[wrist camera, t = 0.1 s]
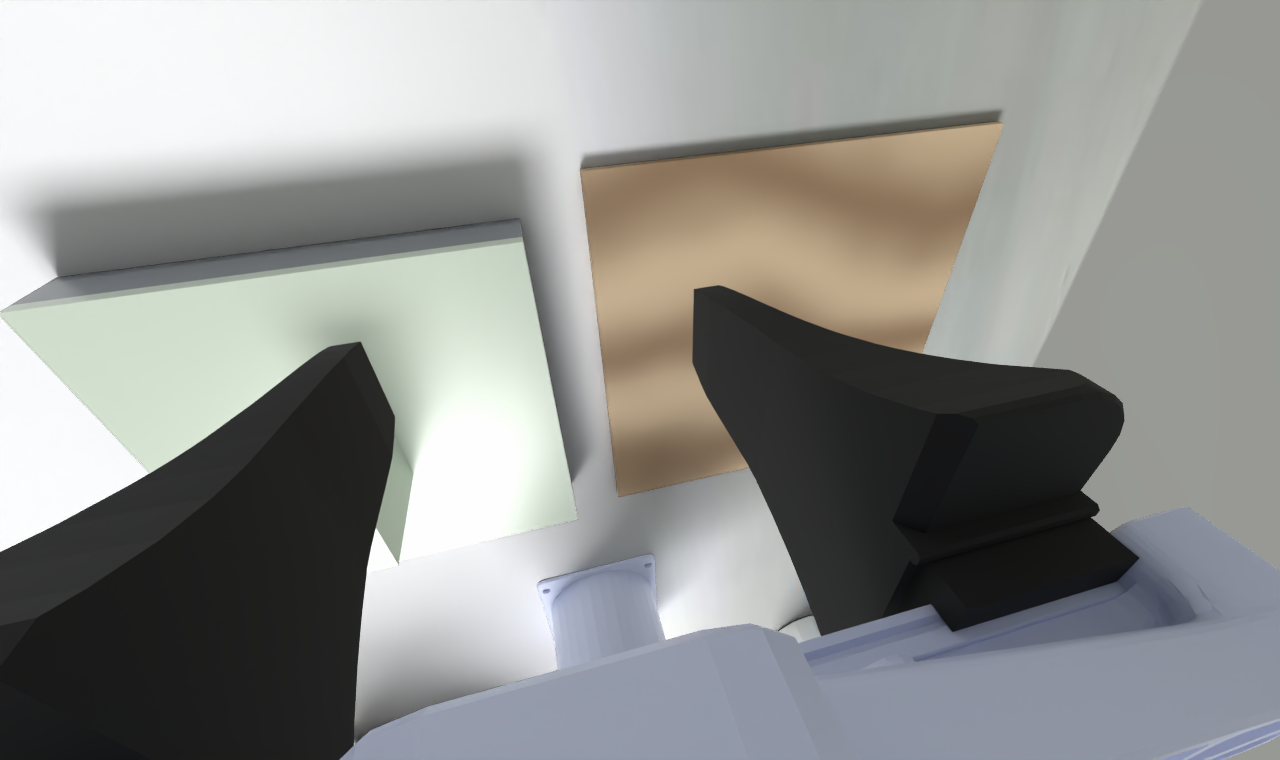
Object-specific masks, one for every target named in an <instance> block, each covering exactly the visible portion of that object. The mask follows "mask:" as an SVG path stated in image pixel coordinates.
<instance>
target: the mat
mask: <svg viewBox="0 0 1280 760" xmlns="http://www.w3.org/2000/svg"><path fill="white" fill-rule="evenodd" d="M1003 126H1004V123H1002V122H988V123H979V124H970V125H961V126H953V127H944V128H935V129H926V130H918V131H909V132H900V133H891V134H882V135H874V136H865V137H856V138H847V139H838V140H830V141H821V142H812V143H803V144H795V145H786V146H777V147H768V148H759V149H751V150H742V151H733V152H724V153H715V154H707V155H698V156H689V157H680V158H672V159H663V160H654V161H645V162H636V163H628V164H619V165H610V166H601V167H593V168H584V169H580V174H581V182H582V191H583V199H584V208H585V217H586V225H587V234H588V243H589V251H590V260H591V268H592V277H593V286H594V294H595V303H596V312H597V320H598V329H599V337H600V346H601V355H602V363H603V372H604V381H605V389H606V398H607V406H608V415H609V424H610V432H611V441H612V450H613V458H614V467H615V475H616V484H617V492H618V496H619V497H622V496H627V495H631V494H635V493H640V492H644V491H649V490H653V489H657V488H662V487H666V486H671V485H675V484H679V483H684V482H688V481H693V480H697V479H701V478H706V477H710V476H715V475H719V474H723V473H728V472H732V471H737V470H741V469H745V468H749V466H748V464H747V462H746V461H745V459H744V458H743V456H742V454H741V453H740V451H739V449H738V448H737V446H736V444H735V443H734V441H733V440H732V438H731V436H730V435H729V433H728V431H727V430H726V428H725V426H724V425H723V423H722V422H721V420H720V418H719V417H718V415H717V413H716V412H715V410H714V408H713V407H712V405H711V403H710V402H709V400H708V398H707V396H706V394H705V392H704V390H703V388H702V385H701V383H700V381H699V378H698V376H697V373H696V371H695V368H694V366H693V363H692V350H693V304H694V289H697V288H704V287H710V286H716V285H720V286H724V287H727V288H730V289H732V290H735V291H737V292H739V293H742V294H744V295H746V296H749V297H751V298H753V299H755V300H758V301H760V302H762V303H764V304H767V305H769V306H771V307H773V308H776V309H778V310H780V311H783V312H785V313H787V314H790V315H792V316H795V317H797V318H799V319H802V320H804V321H807V322H810V323H812V324H815V325H818V326H821V327H823V328H826V329H829V330H832V331H835V332H838V333H841V334H844V335H847V336H851V337H854V338H858V339H861V340H865V341H868V342H872V343H875V344H879V345H884V346H888V347H892V348H897V349H902V350H906V351H911V352H916V353H921V354H922V352H923V349H924V346H925V344H926V341H927V338H928V335H929V332H930V330H931V327H932V324H933V321H934V319H935V316H936V313H937V310H938V307H939V305H940V302H941V299H942V296H943V293H944V291H945V288H946V285H947V282H948V279H949V277H950V274H951V271H952V268H953V265H954V263H955V260H956V257H957V254H958V252H959V249H960V246H961V243H962V240H963V238H964V235H965V232H966V229H967V226H968V224H969V221H970V218H971V215H972V212H973V210H974V207H975V204H976V201H977V199H978V196H979V193H980V190H981V187H982V185H983V182H984V179H985V176H986V173H987V171H988V168H989V165H990V162H991V159H992V157H993V154H994V151H995V148H996V145H997V143H998V140H999V137H1000V134H1001V132H1002V129H1003Z"/></svg>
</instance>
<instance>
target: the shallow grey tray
mask: <svg viewBox="0 0 1280 760" xmlns="http://www.w3.org/2000/svg"><path fill="white" fill-rule="evenodd" d="M517 237H522V239H523V235H522V230H521V225H520V219H519V218H518V219H510V220H502V221H495V222H487V223H479V224H471V225H463V226H456V227H448V228H440V229H432V230H424V231H416V232H409V233H401V234H393V235H385V236H377V237H370V238H362V239H354V240H346V241H338V242H330V243H323V244H315V245H307V246H299V247H291V248H284V249H276V250H268V251H260V252H252V253H244V254H237V255H229V256H221V257H213V258H205V259H197V260H190V261H182V262H174V263H166V264H158V265H151V266H143V267H135V268H127V269H119V270H111V271H104V272H96V273H88V274H80V275H72V276H65V277H57V278H55V279H53V280H52V281H50V282H48V283H47V284H45V285H43V286H42V287H40V288H38V289H37V290H35V291H33V292H32V293H30V294H28V295H27V296H25V297H23V298H22V299H20V300H18V301H17V302H15V303H13V304H12V305H17V304H25V303H32V302H40V301H47V300H54V299H62V298H69V297H77V296H84V295H92V294H99V293H107V292H114V291H122V290H129V289H137V288H144V287H151V286H159V285H166V284H174V283H181V282H189V281H196V280H204V279H211V278H219V277H226V276H233V275H241V274H248V273H256V272H263V271H271V270H278V269H286V268H293V267H301V266H308V265H316V264H323V263H330V262H338V261H345V260H353V259H360V258H368V257H375V256H383V255H390V254H398V253H405V252H412V251H420V250H427V249H435V248H442V247H450V246H457V245H465V244H472V243H480V242H487V241H495V240H502V239H509V238H517ZM523 244H524V240H523ZM524 249H525V245H524ZM525 254H526V250H525ZM526 259H527V255H526ZM527 264H528V260H527ZM528 269H529V265H528ZM529 274H530V270H529ZM530 279H531V275H530ZM531 284H532V280H531ZM532 289H533V285H532ZM533 294H534V290H533ZM534 299H535V295H534ZM535 304H536V300H535ZM536 309H537V305H536ZM537 314H538V310H537ZM538 319H539V316H538ZM539 324H540V321H539ZM540 329H541V326H540ZM541 334H542V331H541ZM542 340H543V336H542ZM543 345H544V341H543ZM544 350H545V346H544ZM545 355H546V351H545ZM546 360H547V356H546ZM547 365H548V361H547ZM548 370H549V366H548ZM549 375H550V371H549ZM550 380H551V376H550ZM551 385H552V381H551ZM552 390H553V386H552ZM553 395H554V391H553ZM554 400H555V396H554ZM555 405H556V401H555ZM556 410H557V407H556ZM557 415H558V412H557ZM558 420H559V417H558ZM559 425H560V422H559ZM560 430H561V427H560ZM561 435H562V432H561ZM562 440H563V437H562ZM563 445H564V442H563ZM564 450H565V447H564ZM565 455H566V452H565ZM566 460H567V457H566ZM567 465H568V462H567ZM568 470H569V467H568ZM569 475H570V472H569ZM570 480H571V477H570ZM571 485H572V482H571ZM572 490H573V488H572ZM573 495H574V493H573ZM574 500H575V499H574Z"/></svg>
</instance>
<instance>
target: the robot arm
mask: <svg viewBox="0 0 1280 760" xmlns="http://www.w3.org/2000/svg"><path fill="white" fill-rule="evenodd" d="M692 363H693V366H694V368H695V371H696V373H697V376H698V378H699V381H700V383H701V385H702V388H703V390H704V392H705V394H706V396H707V398H708V400H709V402H710V403H711V405H712V407H713V408H714V410H715V412H716V413H717V415H718V417H719V418H720V420H721V422H722V423H723V425H724V426H725V428H726V430H727V431H728V433H729V435H730V436H731V438H732V440H733V441H734V443H735V444H736V446H737V448H738V449H739V451H740V453H741V454H742V456H743V458H744V459H745V461H746V462H747V464H748V466H749V468H750V470H751V471H752V473H753V475H754V477H755V479H756V481H757V483H758V485H759V487H760V489H761V492H762V494H763V496H764V498H765V500H766V502H767V505H768V507H769V509H770V511H771V513H772V515H773V518H774V520H775V522H776V525H777V527H778V529H779V532H780V534H781V536H782V539H783V541H784V543H785V545H786V548H787V550H788V552H789V555H790V557H791V560H792V562H793V565H794V567H795V570H796V572H797V575H798V577H799V580H800V582H801V585H802V587H803V590H804V592H805V595H806V597H807V600H808V603H809V605H810V608H811V611H812V613H813V616H814V619H815V621H816V624H817V627H818V630H819V632H820V635H821V636H820V637H817V638H813V639H810V640H807V641H803V642H800V643H798V642H797V640H796V638H795V637H793V636H790V635H787V634H785V633H782V632H779V631H775V630H772V629H768V628H765V627H761V626H758V625H754V624H751V623H749V624H742V625H735V626H728V627H721V628H714V629H707V630H700V631H697V632H693V633H690V634H686V635H682V636H679V637H675V638H672V639H668V640H666V639H665V636H664V632H663V629H662V625H661V622H660V618H659V615H658V611H657V594H656V575H655V559H654V556H653V555H651V554H647V555H643V556H639V557H635V558H631V559H627V560H623V561H619V562H615V563H611V564H607V565H603V566H599V567H595V568H591V569H587V570H583V571H579V572H575V573H571V574H567V575H563V576H559V577H555V578H551V579H547V580H543V581H540V582H539V583H538V584H537V589H538V592H539V595H540V598H541V601H542V604H543V607H544V610H545V613H546V617H547V620H548V623H549V626H550V629H551V632H552V635H553V638H554V641H555V650H556V659H557V669H558V670H557V671H553V672H550V673H546V674H543V675H539V676H535V677H532V678H528V679H525V680H521V681H518V682H514V683H510V684H507V685H503V686H500V687H496V688H492V689H489V690H485V691H482V692H478V693H474V694H471V695H467V696H464V697H460V698H457V699H453V700H449V701H446V702H442V703H439V704H435V705H431V706H428V707H425V708H423V709H420V710H418V711H416V712H413V713H411V714H408V715H406V716H404V717H401V718H399V719H396V720H394V721H392V722H389V723H387V724H384V725H382V726H379V727H377V728H375V729H372V730H370V731H369V732H368V733H367V734H366V735H365V736H364V737H363V738H361V739H360V740H359V741H358V742H357V743H356V744H355V745H354V718H355V700H356V682H357V664H358V652H359V641H360V629H361V617H362V608H363V599H364V591H365V582H366V573H367V566H368V561H369V556H370V551H371V546H372V542H373V538H374V533H375V529H376V525H377V521H378V517H379V513H380V509H381V504H382V500H383V496H384V492H385V488H386V484H387V479H388V475H389V471H390V466H391V461H392V457H393V446H394V432H395V415H394V413H393V411H392V409H391V406H390V404H389V402H388V400H387V398H386V396H385V393H384V391H383V389H382V387H381V385H380V382H379V380H378V378H377V376H376V374H375V371H374V369H373V367H372V365H371V363H370V361H369V358H368V356H367V354H366V352H365V350H364V347H363V345H362V343H361V341H360V342H354V343H347V344H341V345H335V346H329V347H327V348H326V349H324V350H322V351H321V352H319V353H318V354H316V355H315V356H313V357H312V358H311V359H309V360H308V361H307V362H305V363H304V364H303V365H301V366H300V367H299V368H297V369H296V370H295V371H294V372H292V373H291V374H290V375H288V376H287V377H286V378H285V379H283V380H282V381H281V382H280V383H278V384H277V385H276V386H274V387H273V388H272V389H271V390H269V391H268V392H267V393H265V394H264V395H263V396H262V397H260V398H259V399H258V400H257V401H255V402H254V403H253V404H251V405H250V406H249V407H247V408H246V409H244V410H243V411H242V412H240V413H239V414H238V415H236V416H235V417H233V418H232V419H231V420H229V421H228V422H227V423H225V424H224V425H222V426H221V427H220V428H218V429H217V430H215V431H214V432H213V433H211V434H210V435H209V436H207V437H206V438H204V439H203V440H201V441H200V442H198V443H197V444H196V445H194V446H193V447H191V448H189V449H188V450H186V451H185V452H183V453H182V454H180V455H179V456H177V457H176V458H174V459H172V460H171V461H169V462H167V463H166V464H164V465H163V466H161V467H159V468H158V469H156V470H154V471H153V472H151V473H150V474H148V475H146V476H145V477H143V478H141V479H139V480H138V481H136V482H134V483H133V484H131V485H129V486H127V487H125V488H124V489H122V490H120V491H118V492H116V493H114V494H113V495H111V496H109V497H107V498H105V499H103V500H101V501H100V502H98V503H96V504H94V505H92V506H90V507H88V508H87V509H85V510H83V511H81V512H79V513H77V514H76V515H74V516H72V517H70V518H68V519H66V520H64V521H63V522H61V523H59V524H57V525H55V526H53V527H51V528H49V529H47V530H45V531H43V532H41V533H39V534H37V535H35V536H33V537H30V538H28V539H26V540H24V541H22V542H20V543H18V544H16V545H14V546H12V547H10V548H8V549H6V550H4V551H1V552H0V760H1224V759H1227V758H1229V757H1232V756H1234V755H1237V754H1239V753H1242V752H1244V751H1247V750H1249V749H1252V748H1254V747H1257V746H1259V745H1262V744H1264V743H1266V742H1268V741H1270V740H1272V739H1274V738H1276V737H1278V736H1280V570H1278V569H1277V568H1275V567H1274V566H1272V565H1271V564H1270V563H1268V562H1267V561H1265V560H1264V559H1262V558H1261V557H1260V556H1258V555H1257V554H1255V553H1254V552H1252V551H1251V550H1250V549H1248V548H1247V547H1245V546H1244V545H1242V544H1241V543H1239V542H1238V541H1237V540H1235V539H1234V538H1232V537H1231V536H1229V535H1228V534H1227V533H1225V532H1224V531H1222V530H1221V529H1219V528H1218V527H1216V526H1215V525H1214V524H1212V523H1211V522H1209V521H1208V520H1206V519H1205V518H1204V517H1202V516H1201V515H1199V514H1198V513H1196V512H1195V511H1193V510H1192V509H1191V508H1189V507H1178V508H1174V509H1171V510H1167V511H1163V512H1160V513H1156V514H1153V515H1149V516H1145V517H1142V518H1139V519H1135V520H1132V521H1129V522H1127V523H1125V524H1122V525H1121V526H1119V527H1118V528H1116V529H1114V530H1113V531H1111V532H1110V533H1109V532H1107V531H1106V530H1105V529H1104V528H1103V527H1102V526H1100V525H1099V524H1098V523H1097V522H1096V521H1094V520H1093V519H1092V518H1091V517H1093V516H1096V514H1097V513H1098V512H1099V511H1100V510H1099V507H1098V504H1097V503H1095V502H1094V501H1093V500H1091V499H1090V498H1089V497H1088V496H1086V495H1085V494H1084V493H1083V492H1082V491H1080V490H1081V489H1082V488H1083V486H1084V485H1085V483H1086V482H1087V481H1088V480H1089V478H1090V477H1091V475H1092V474H1093V473H1094V471H1095V470H1096V469H1097V467H1098V466H1099V465H1100V463H1101V462H1102V461H1103V459H1104V458H1105V456H1106V455H1107V454H1108V453H1109V451H1110V450H1111V448H1112V446H1113V445H1114V443H1115V442H1116V440H1117V438H1118V436H1119V435H1120V433H1121V429H1122V426H1123V423H1124V411H1123V403H1122V402H1121V401H1120V400H1119V399H1118V398H1117V397H1116V396H1115V395H1114V394H1112V393H1110V392H1109V391H1107V390H1105V389H1104V388H1102V387H1100V386H1099V385H1097V384H1096V383H1094V382H1092V381H1090V380H1089V379H1087V378H1086V377H1084V376H1082V375H1080V374H1078V373H1076V372H1073V371H1070V370H1061V369H1048V368H1036V367H1022V366H1009V365H997V364H988V363H980V362H972V361H965V360H957V359H950V358H944V357H938V356H932V355H926V354H921V353H916V352H911V351H906V350H902V349H897V348H892V347H888V346H884V345H879V344H875V343H872V342H868V341H865V340H861V339H858V338H854V337H851V336H847V335H844V334H841V333H838V332H835V331H832V330H829V329H826V328H823V327H821V326H818V325H815V324H812V323H810V322H807V321H804V320H802V319H799V318H797V317H795V316H792V315H790V314H787V313H785V312H783V311H780V310H778V309H776V308H773V307H771V306H769V305H767V304H764V303H762V302H760V301H758V300H755V299H753V298H751V297H749V296H746V295H744V294H742V293H739V292H737V291H735V290H732V289H730V288H727V287H724V286H720V285H716V286H710V287H704V288H697V289H694V304H693V350H692ZM647 563H650V564H649V565H646V564H647ZM545 589H549V590H547V591H543V590H545Z"/></svg>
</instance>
